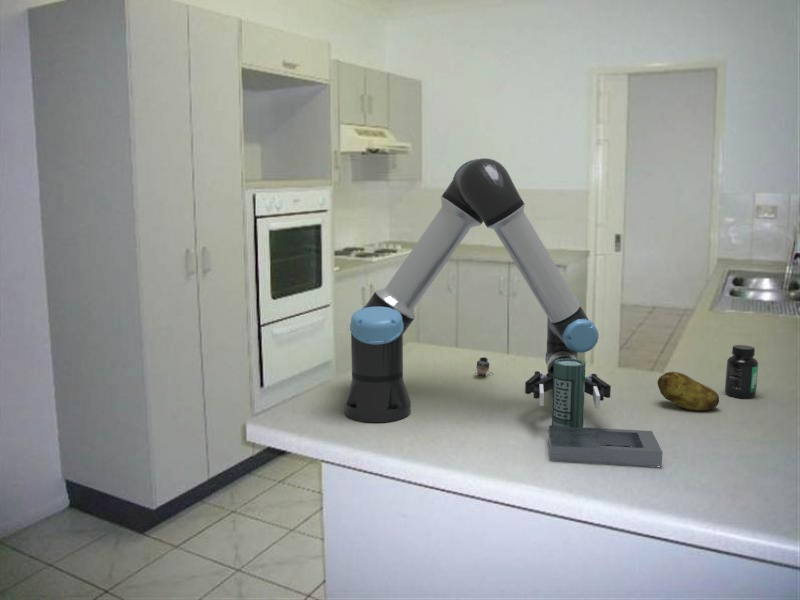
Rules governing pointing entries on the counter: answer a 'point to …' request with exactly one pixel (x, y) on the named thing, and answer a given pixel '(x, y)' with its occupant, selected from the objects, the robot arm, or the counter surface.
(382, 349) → the robot arm
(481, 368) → the vase
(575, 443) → the grey slab with hole
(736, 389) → the supplement bottle
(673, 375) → the potato
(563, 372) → the can
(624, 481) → the counter surface
